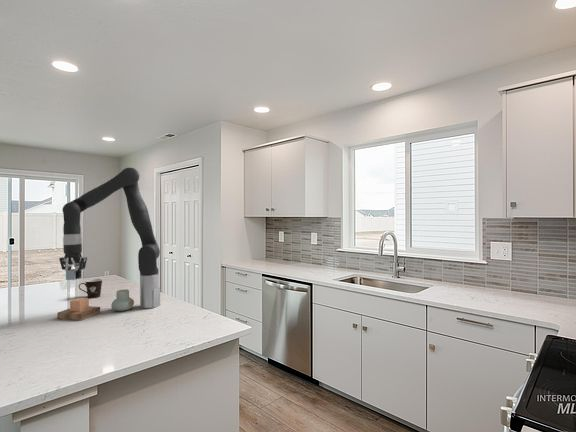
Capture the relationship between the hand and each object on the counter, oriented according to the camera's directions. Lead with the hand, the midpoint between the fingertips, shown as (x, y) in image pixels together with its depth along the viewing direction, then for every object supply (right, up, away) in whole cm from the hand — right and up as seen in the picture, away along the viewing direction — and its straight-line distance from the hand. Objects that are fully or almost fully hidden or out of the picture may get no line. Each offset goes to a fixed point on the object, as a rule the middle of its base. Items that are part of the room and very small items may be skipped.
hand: (73, 278), depth 160 cm
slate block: (0, 0, 0) cm, 0 cm away
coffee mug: (-13, -18, +37) cm, 43 cm away
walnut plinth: (+3, -19, 0) cm, 19 cm away
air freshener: (+19, -19, +11) cm, 28 cm away
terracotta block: (+3, -16, 0) cm, 16 cm away
